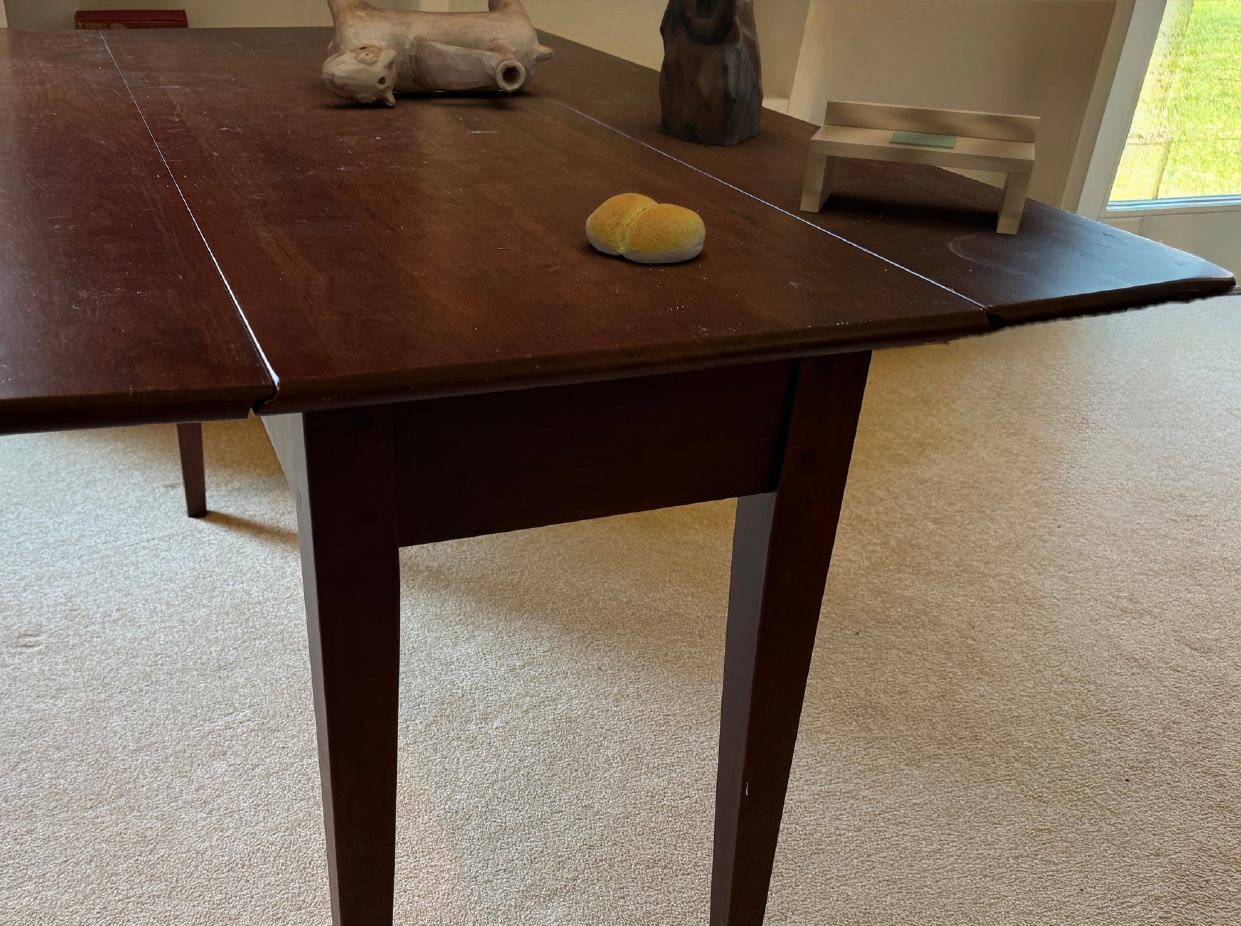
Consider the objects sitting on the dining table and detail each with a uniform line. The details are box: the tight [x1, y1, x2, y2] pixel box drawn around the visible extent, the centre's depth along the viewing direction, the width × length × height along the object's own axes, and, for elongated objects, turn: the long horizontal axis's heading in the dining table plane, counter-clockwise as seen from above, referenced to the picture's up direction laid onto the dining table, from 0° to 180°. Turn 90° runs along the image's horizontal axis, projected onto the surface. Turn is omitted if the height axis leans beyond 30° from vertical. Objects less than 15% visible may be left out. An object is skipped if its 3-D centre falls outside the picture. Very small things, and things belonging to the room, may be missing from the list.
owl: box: [656, 0, 765, 147], centre depth 125 cm, size 13×13×20 cm
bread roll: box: [585, 192, 707, 264], centre depth 87 cm, size 8×9×4 cm
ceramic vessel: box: [320, 0, 556, 104], centre depth 146 cm, size 13×31×25 cm
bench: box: [799, 98, 1041, 236], centre depth 99 cm, size 18×9×8 cm, turn 69°
